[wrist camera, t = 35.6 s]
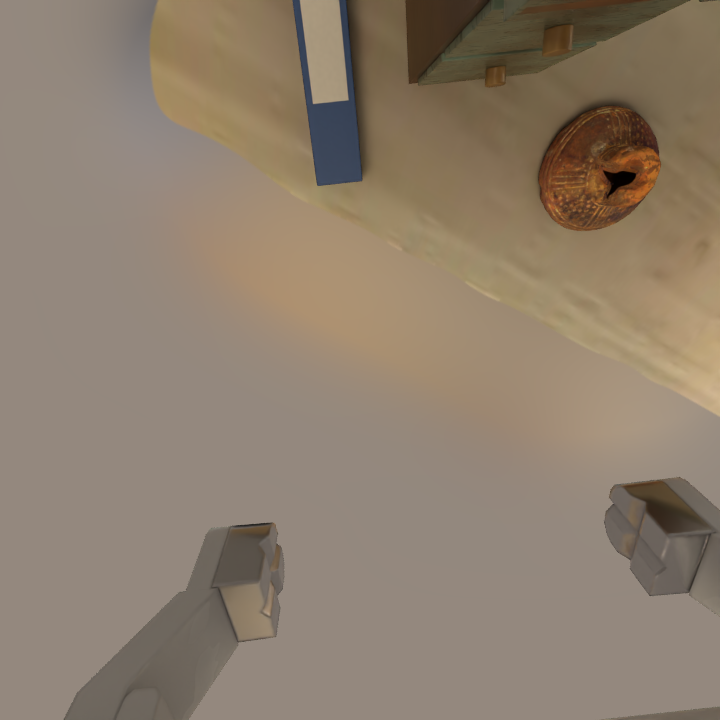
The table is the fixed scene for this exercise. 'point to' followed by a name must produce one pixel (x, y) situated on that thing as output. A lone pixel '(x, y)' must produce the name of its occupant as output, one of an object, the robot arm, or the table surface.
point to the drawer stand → (511, 34)
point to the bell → (599, 168)
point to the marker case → (329, 89)
